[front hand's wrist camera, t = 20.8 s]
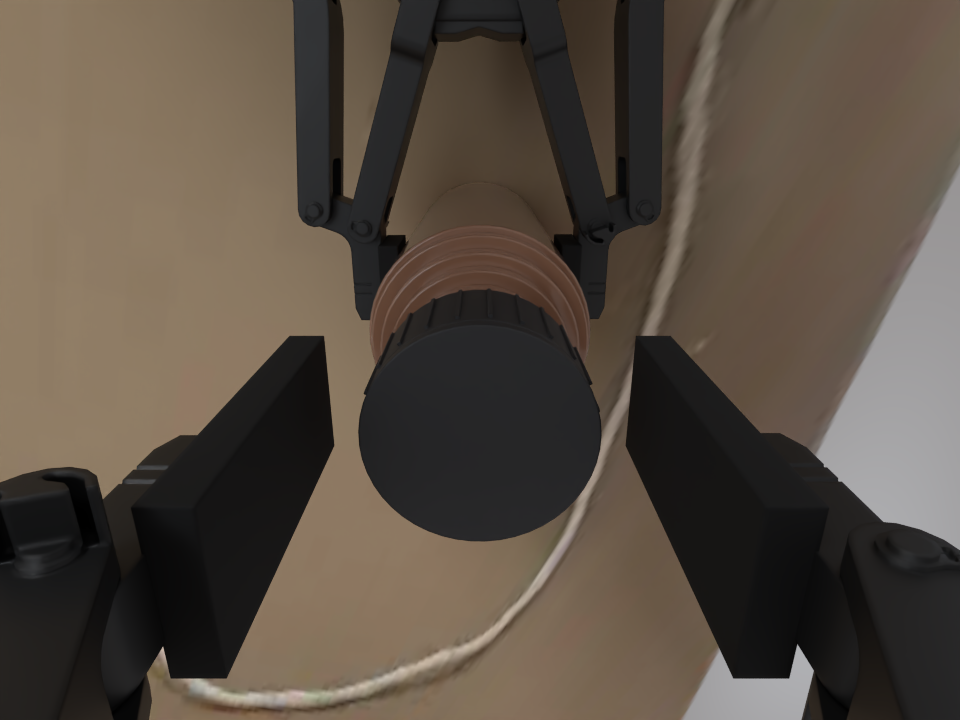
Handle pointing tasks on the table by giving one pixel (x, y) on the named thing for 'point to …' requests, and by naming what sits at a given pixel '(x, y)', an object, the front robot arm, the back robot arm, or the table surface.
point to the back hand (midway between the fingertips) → (480, 387)
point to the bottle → (479, 263)
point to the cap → (479, 418)
